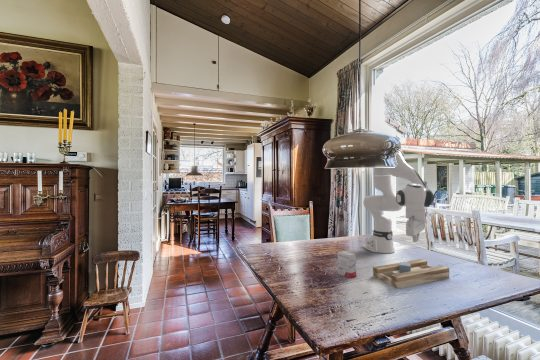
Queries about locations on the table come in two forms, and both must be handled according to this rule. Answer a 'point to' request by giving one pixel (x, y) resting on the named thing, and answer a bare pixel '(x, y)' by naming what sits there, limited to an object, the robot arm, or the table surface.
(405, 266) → the slate block
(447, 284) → the table surface
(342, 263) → the ink box
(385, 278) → the trap lane
